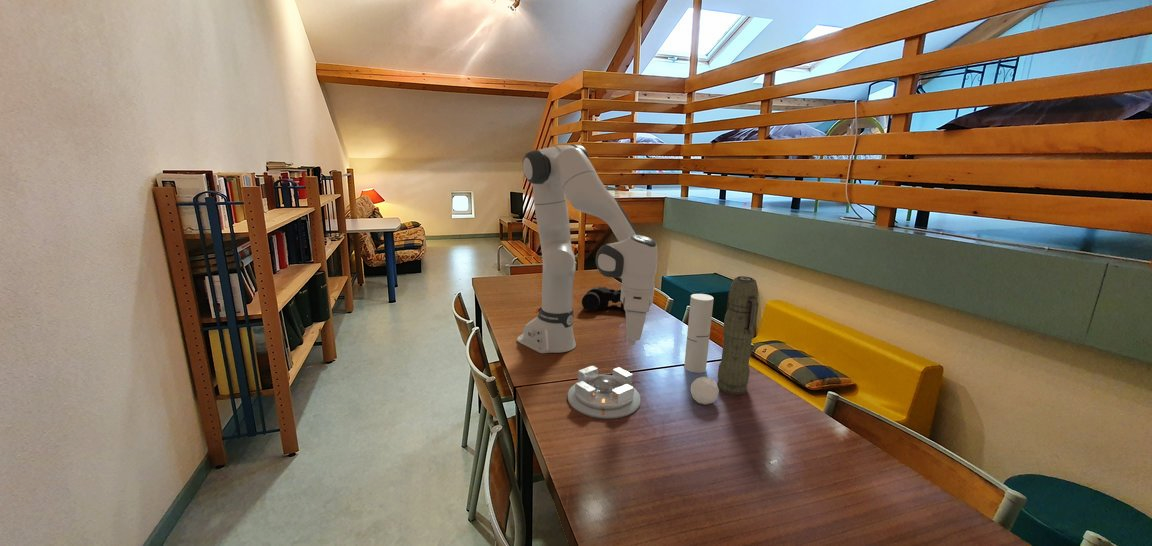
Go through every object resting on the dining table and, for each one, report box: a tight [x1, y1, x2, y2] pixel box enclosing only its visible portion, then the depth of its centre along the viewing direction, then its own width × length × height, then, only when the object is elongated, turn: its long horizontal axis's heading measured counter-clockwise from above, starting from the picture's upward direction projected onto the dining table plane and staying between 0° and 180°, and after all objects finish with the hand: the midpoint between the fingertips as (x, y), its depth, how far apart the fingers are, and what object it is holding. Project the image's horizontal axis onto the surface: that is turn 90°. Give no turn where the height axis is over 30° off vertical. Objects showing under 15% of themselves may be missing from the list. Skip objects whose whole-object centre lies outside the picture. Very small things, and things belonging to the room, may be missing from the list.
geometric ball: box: [690, 375, 720, 405], centre depth 131 cm, size 8×8×8 cm
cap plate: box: [567, 383, 641, 420], centre depth 133 cm, size 21×21×1 cm
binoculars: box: [581, 286, 625, 312], centre depth 210 cm, size 29×20×10 cm
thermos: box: [716, 275, 759, 395], centre depth 137 cm, size 9×12×35 cm
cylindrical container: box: [683, 293, 714, 374], centre depth 151 cm, size 7×7×25 cm
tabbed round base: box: [574, 365, 635, 410], centre depth 132 cm, size 17×17×5 cm
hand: (631, 342), depth 128 cm, fingers closed
